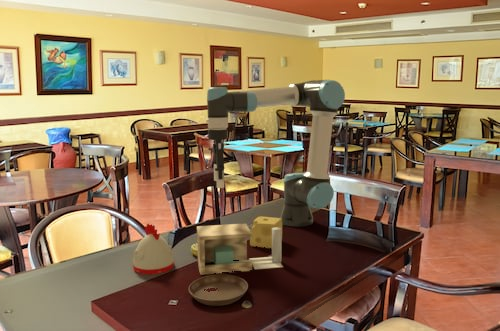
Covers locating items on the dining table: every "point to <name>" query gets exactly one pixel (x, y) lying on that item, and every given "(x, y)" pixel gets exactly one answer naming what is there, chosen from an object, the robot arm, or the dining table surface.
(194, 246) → the decorated donut
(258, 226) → the cheese
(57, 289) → the dining table surface
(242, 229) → the box
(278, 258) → the block
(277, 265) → the mat
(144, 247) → the kitchen timer
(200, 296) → the plant saucer
